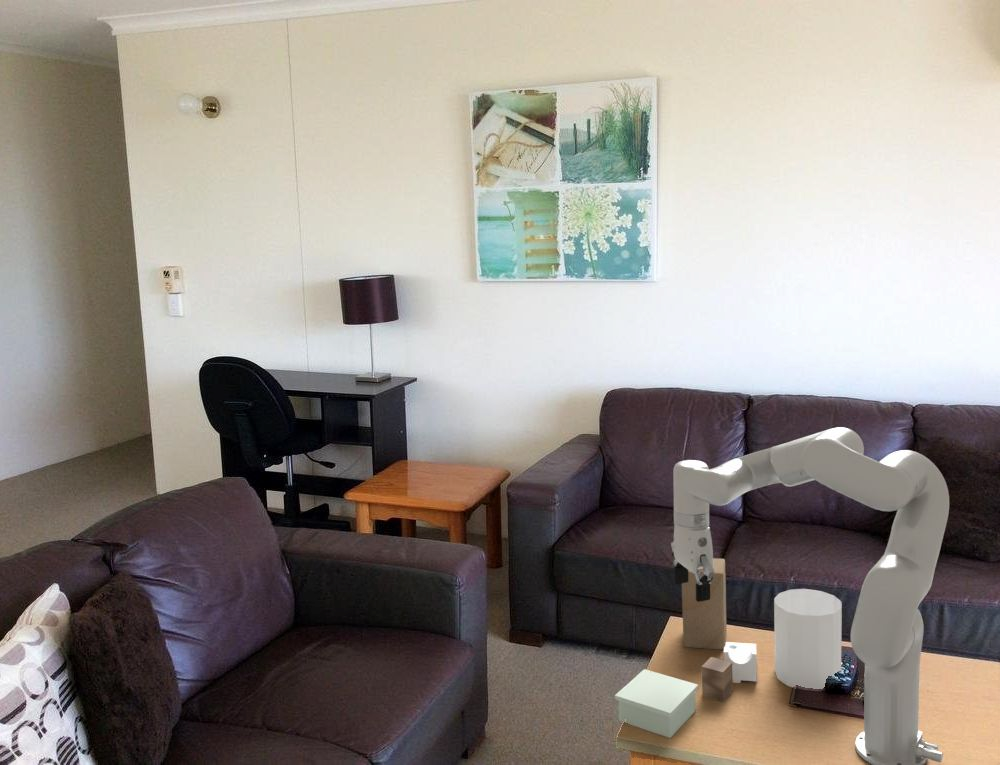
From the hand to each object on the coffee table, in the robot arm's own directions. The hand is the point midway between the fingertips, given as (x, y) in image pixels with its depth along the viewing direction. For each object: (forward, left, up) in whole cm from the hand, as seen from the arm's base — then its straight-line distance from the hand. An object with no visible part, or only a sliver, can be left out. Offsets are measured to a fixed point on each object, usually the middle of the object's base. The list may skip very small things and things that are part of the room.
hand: (692, 591), depth 191 cm
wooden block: (+8, -23, -24) cm, 35 cm away
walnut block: (-5, -1, -24) cm, 24 cm away
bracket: (-5, -14, -24) cm, 29 cm away
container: (-19, -19, -24) cm, 36 cm away
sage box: (+2, +14, -24) cm, 27 cm away
